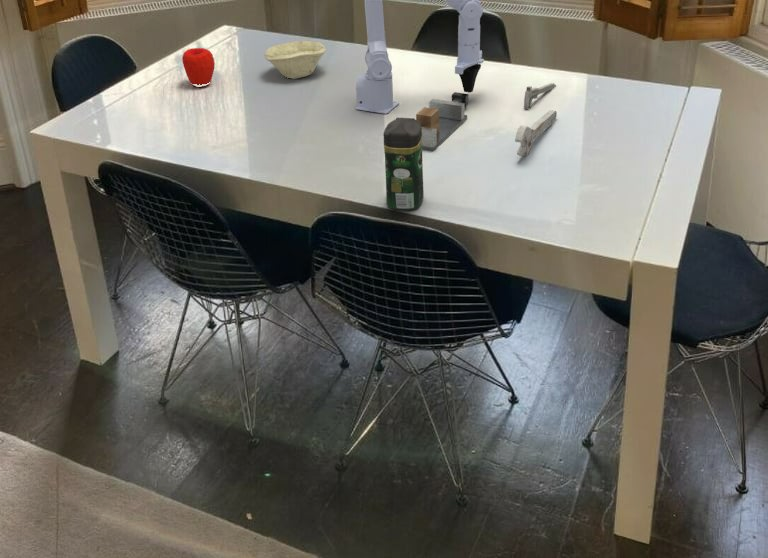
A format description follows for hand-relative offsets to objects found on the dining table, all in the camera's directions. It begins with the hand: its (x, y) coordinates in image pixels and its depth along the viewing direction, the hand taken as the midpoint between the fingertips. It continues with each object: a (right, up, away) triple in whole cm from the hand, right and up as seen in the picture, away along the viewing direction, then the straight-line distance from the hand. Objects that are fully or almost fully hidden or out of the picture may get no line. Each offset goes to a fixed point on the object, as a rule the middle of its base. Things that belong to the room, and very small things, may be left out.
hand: (468, 91), depth 252 cm
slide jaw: (-5, -7, -7) cm, 11 cm away
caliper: (+20, -2, +2) cm, 20 cm away
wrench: (+15, -17, -22) cm, 32 cm away
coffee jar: (-18, -34, -48) cm, 62 cm away
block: (-12, -15, -20) cm, 27 cm away
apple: (-76, +6, +20) cm, 79 cm away
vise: (-10, -14, -16) cm, 23 cm away
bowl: (-49, +10, +25) cm, 56 cm away
